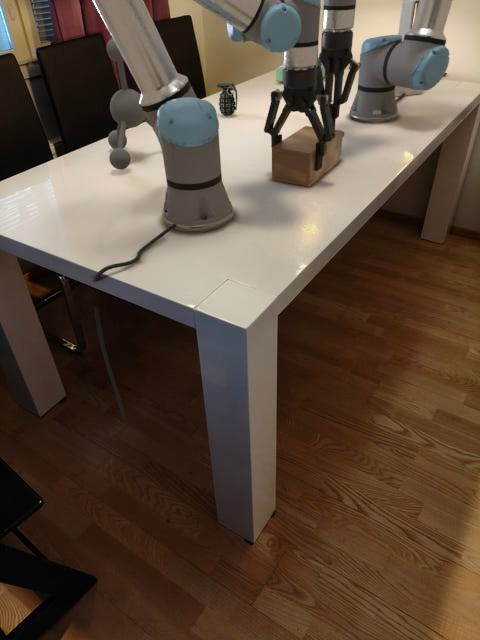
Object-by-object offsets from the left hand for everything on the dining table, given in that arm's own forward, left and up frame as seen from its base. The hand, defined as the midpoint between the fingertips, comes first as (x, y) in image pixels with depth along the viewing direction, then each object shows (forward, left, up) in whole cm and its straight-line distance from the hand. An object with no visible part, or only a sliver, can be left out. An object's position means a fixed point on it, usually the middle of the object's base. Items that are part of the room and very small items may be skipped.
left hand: (297, 165), depth 121 cm
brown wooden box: (+5, 0, -3) cm, 6 cm away
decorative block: (+102, +40, -3) cm, 110 cm away
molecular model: (-1, +47, -3) cm, 48 cm away
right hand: (+20, -1, +3) cm, 20 cm away
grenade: (+43, +44, -3) cm, 62 cm away
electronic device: (+89, -5, -3) cm, 89 cm away
